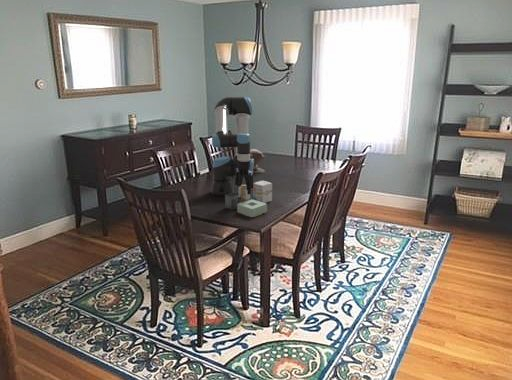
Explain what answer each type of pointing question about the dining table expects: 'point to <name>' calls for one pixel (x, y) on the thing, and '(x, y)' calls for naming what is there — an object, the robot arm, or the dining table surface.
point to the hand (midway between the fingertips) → (244, 197)
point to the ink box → (262, 191)
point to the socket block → (252, 208)
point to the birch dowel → (243, 193)
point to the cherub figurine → (257, 160)
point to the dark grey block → (231, 201)
